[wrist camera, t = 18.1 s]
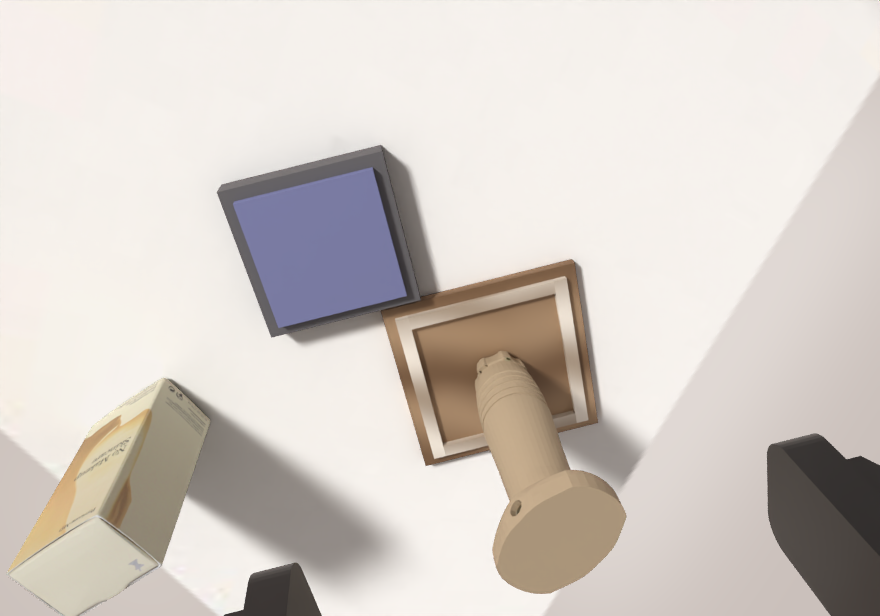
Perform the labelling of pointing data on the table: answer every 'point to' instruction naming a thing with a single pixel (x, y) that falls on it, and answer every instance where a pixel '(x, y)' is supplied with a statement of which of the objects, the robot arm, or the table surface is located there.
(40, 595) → the skincare box
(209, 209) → the table surface
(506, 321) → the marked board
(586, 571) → the handle
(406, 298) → the ink pad
